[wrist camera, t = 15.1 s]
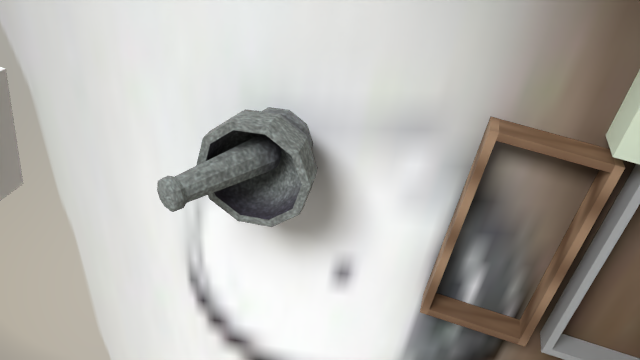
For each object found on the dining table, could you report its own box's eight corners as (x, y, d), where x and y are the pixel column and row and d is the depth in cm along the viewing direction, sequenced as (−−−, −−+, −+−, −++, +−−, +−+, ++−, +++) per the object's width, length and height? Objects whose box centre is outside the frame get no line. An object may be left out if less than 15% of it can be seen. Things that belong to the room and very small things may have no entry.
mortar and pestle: (333, 97, 48) (288, 166, 38) (331, 190, 53) (291, 273, 43) (210, 82, 50) (139, 143, 41) (219, 172, 55) (157, 247, 45)
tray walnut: (490, 116, 45) (489, 130, 43) (619, 151, 44) (625, 167, 42) (423, 294, 56) (419, 312, 54) (524, 327, 55) (525, 346, 53)
